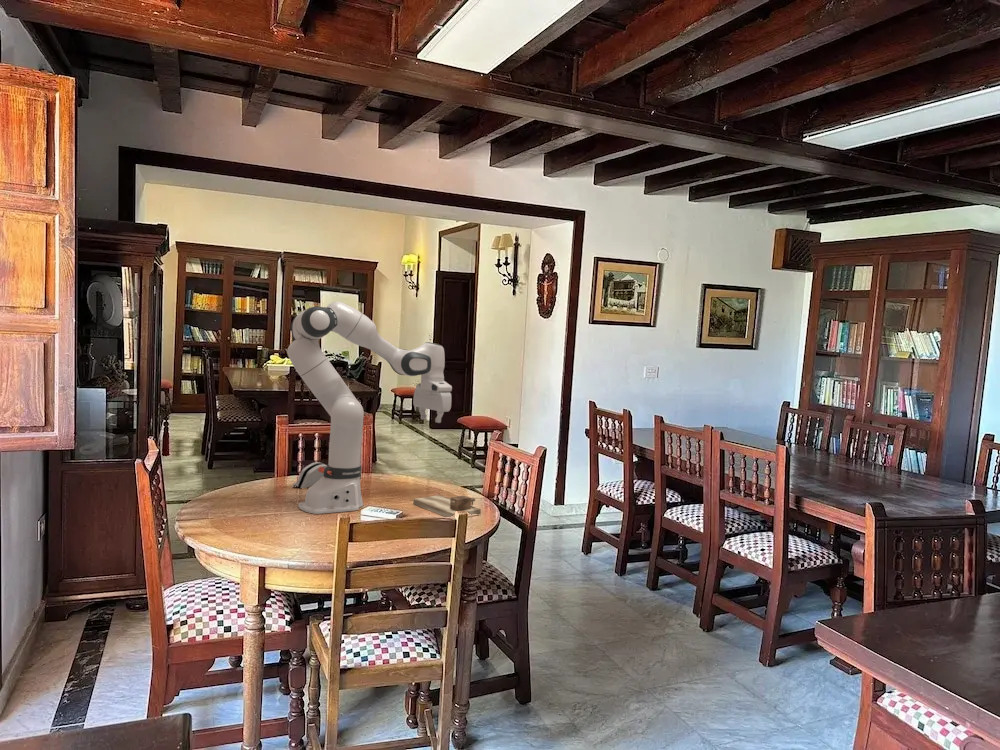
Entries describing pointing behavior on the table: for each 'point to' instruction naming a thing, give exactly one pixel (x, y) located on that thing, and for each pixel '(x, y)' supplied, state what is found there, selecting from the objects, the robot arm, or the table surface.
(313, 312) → the robot arm
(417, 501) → the board
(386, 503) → the table surface
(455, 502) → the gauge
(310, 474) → the grey curved piece
